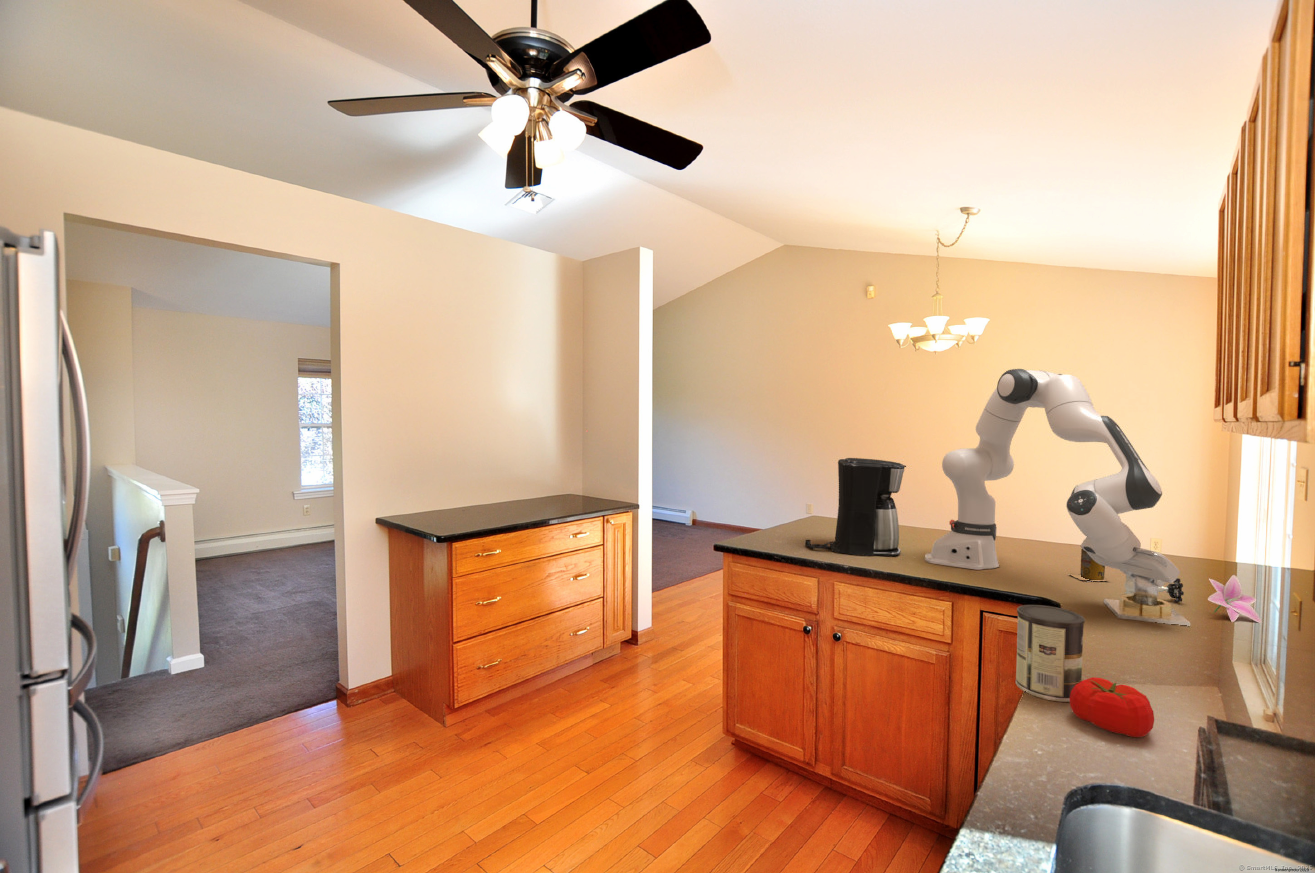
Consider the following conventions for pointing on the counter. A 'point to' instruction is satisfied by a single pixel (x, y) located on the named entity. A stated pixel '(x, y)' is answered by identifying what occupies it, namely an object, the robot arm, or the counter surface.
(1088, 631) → the counter surface
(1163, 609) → the flange
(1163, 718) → the counter surface
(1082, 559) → the condiment
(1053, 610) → the coffee can
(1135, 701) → the tomato
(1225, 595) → the lily
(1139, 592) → the black-capped jar
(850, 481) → the coffee maker
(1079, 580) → the counter surface
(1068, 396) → the robot arm
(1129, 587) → the valve
